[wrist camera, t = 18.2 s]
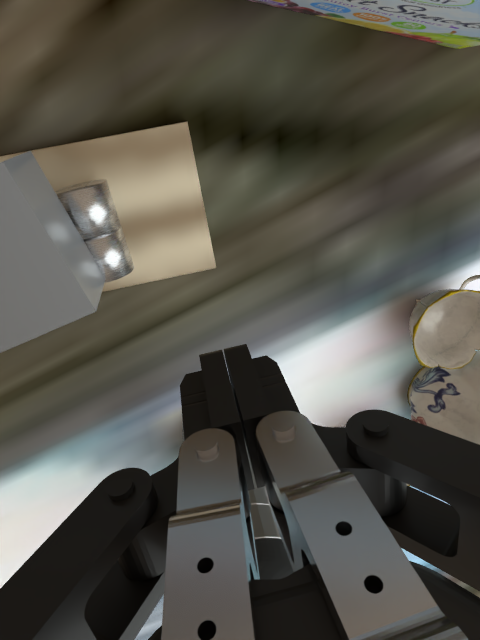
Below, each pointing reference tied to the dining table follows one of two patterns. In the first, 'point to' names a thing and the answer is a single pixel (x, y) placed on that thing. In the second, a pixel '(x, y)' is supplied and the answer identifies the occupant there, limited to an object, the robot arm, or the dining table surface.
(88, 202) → the cylinder
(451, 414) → the chinaware
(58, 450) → the dining table surface
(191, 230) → the deck
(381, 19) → the snack box
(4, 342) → the slab
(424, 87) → the dining table surface
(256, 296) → the dining table surface
